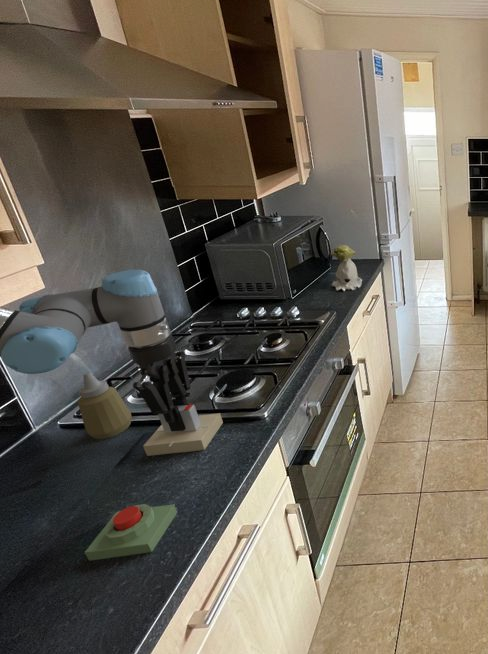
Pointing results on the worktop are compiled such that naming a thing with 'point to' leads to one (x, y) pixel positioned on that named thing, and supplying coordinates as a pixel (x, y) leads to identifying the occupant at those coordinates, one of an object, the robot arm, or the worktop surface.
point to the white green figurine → (346, 269)
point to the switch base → (184, 437)
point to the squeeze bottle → (102, 409)
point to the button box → (132, 534)
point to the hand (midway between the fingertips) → (182, 425)
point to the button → (127, 518)
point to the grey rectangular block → (184, 418)
